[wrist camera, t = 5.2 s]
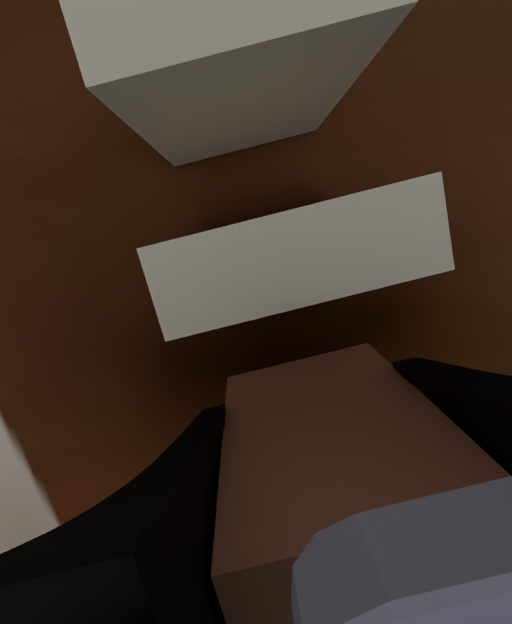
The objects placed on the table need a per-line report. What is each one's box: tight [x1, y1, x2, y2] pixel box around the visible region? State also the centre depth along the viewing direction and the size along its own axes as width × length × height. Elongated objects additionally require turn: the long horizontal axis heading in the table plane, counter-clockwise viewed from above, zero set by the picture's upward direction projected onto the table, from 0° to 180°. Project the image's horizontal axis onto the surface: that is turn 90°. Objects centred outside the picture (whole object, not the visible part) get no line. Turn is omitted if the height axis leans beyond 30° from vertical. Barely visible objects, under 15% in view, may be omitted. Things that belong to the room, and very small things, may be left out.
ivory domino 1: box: [59, 0, 418, 167], centre depth 10 cm, size 2×5×8 cm, turn 104°
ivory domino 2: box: [137, 172, 455, 342], centre depth 10 cm, size 2×5×8 cm, turn 104°
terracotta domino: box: [211, 343, 511, 624], centre depth 10 cm, size 2×5×8 cm, turn 104°
